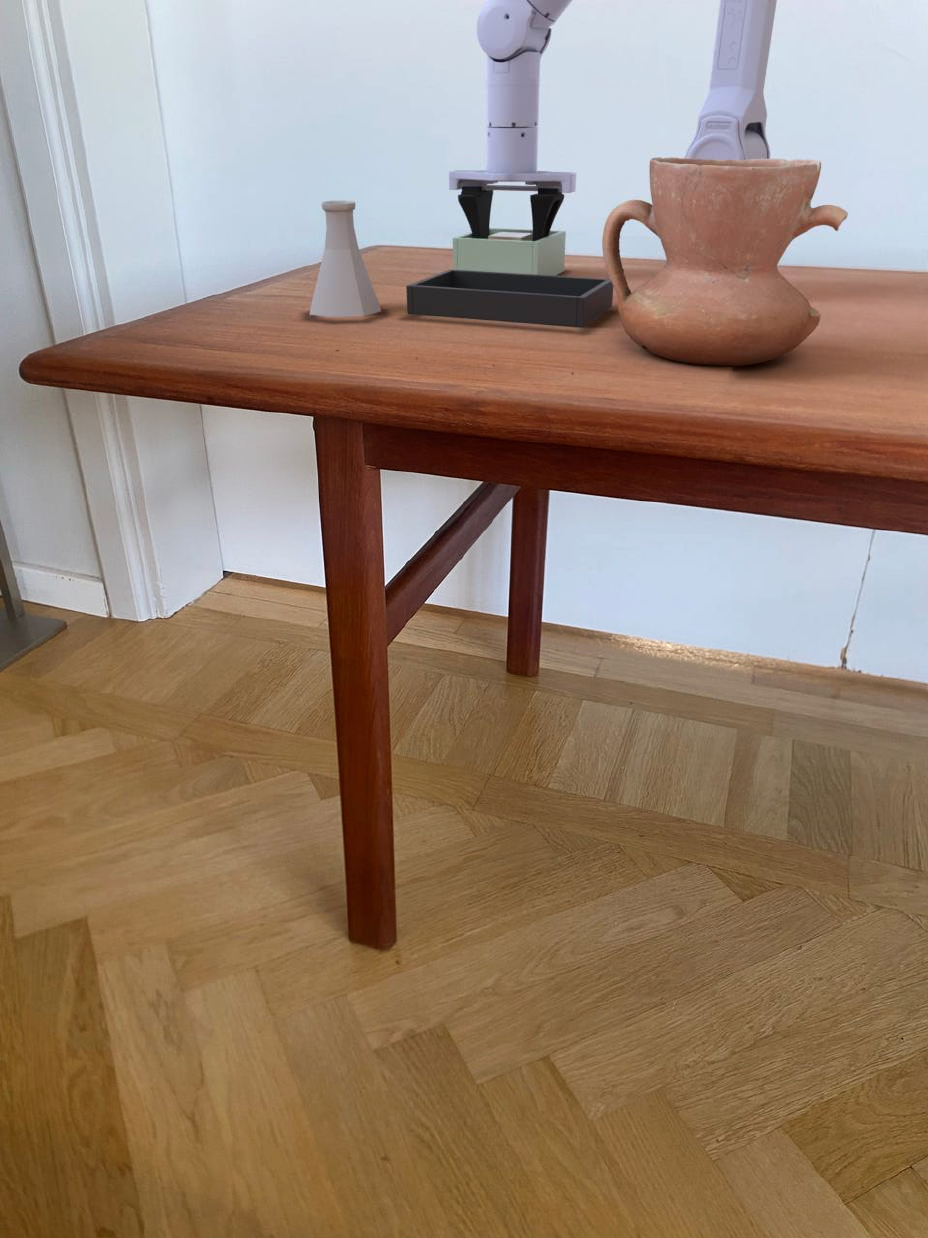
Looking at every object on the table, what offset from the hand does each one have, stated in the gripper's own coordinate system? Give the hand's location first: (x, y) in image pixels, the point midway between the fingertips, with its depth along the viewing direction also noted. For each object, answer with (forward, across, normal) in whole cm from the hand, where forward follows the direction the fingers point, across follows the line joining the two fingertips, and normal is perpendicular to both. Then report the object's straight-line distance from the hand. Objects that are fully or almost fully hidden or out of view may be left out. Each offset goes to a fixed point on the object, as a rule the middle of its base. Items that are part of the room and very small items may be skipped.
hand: (510, 259), depth 108 cm
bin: (+2, 0, 0) cm, 2 cm away
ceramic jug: (+2, +28, -31) cm, 42 cm away
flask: (+2, -7, -27) cm, 28 cm away
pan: (+2, +8, -22) cm, 23 cm away
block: (+1, 0, 0) cm, 1 cm away
